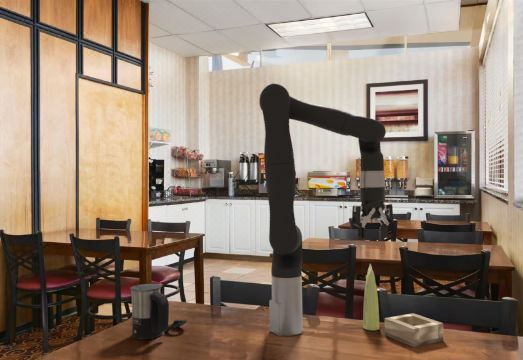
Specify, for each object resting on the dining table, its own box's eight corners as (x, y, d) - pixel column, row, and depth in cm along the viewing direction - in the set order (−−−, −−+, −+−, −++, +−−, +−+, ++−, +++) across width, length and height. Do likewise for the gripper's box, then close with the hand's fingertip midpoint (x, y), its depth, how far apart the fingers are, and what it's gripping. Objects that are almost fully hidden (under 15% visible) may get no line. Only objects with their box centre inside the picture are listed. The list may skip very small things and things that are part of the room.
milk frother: (124, 338, 149) (123, 288, 149) (155, 323, 163) (154, 278, 163) (165, 343, 143) (164, 292, 143) (193, 327, 158) (192, 281, 158)
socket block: (413, 347, 136) (413, 329, 136) (384, 335, 147) (384, 318, 147) (443, 340, 141) (443, 323, 141) (413, 329, 152) (413, 313, 152)
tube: (384, 329, 153) (383, 265, 152) (372, 332, 150) (371, 267, 150) (370, 325, 157) (369, 263, 157) (359, 327, 154) (358, 265, 154)
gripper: (382, 185, 160) (382, 235, 160) (346, 186, 153) (347, 238, 153) (398, 185, 153) (399, 238, 153) (361, 186, 146) (362, 241, 147)
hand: (373, 238), depth 153 cm, fingers open, 8 cm apart
